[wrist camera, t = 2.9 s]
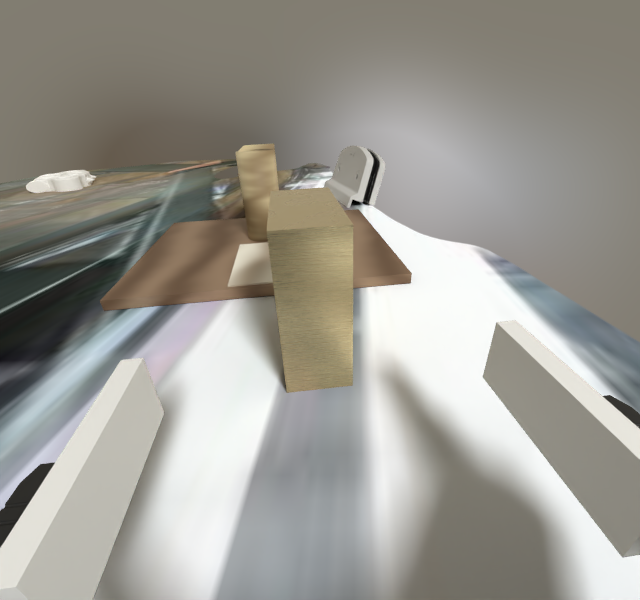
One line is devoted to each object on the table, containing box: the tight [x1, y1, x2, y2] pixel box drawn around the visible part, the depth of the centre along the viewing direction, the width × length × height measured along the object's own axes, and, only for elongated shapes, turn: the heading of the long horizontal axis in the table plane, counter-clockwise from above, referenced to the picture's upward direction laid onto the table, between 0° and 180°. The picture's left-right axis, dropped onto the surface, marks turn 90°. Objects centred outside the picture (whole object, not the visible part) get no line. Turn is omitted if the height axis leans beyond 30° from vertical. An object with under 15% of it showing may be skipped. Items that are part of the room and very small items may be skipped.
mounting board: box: [100, 144, 412, 311], centre depth 39 cm, size 28×24×11 cm
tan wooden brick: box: [267, 187, 353, 393], centre depth 22 cm, size 4×9×10 cm, turn 6°
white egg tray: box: [26, 170, 96, 193], centre depth 91 cm, size 3×18×15 cm
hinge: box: [324, 146, 385, 208], centre depth 63 cm, size 17×5×10 cm, turn 15°
